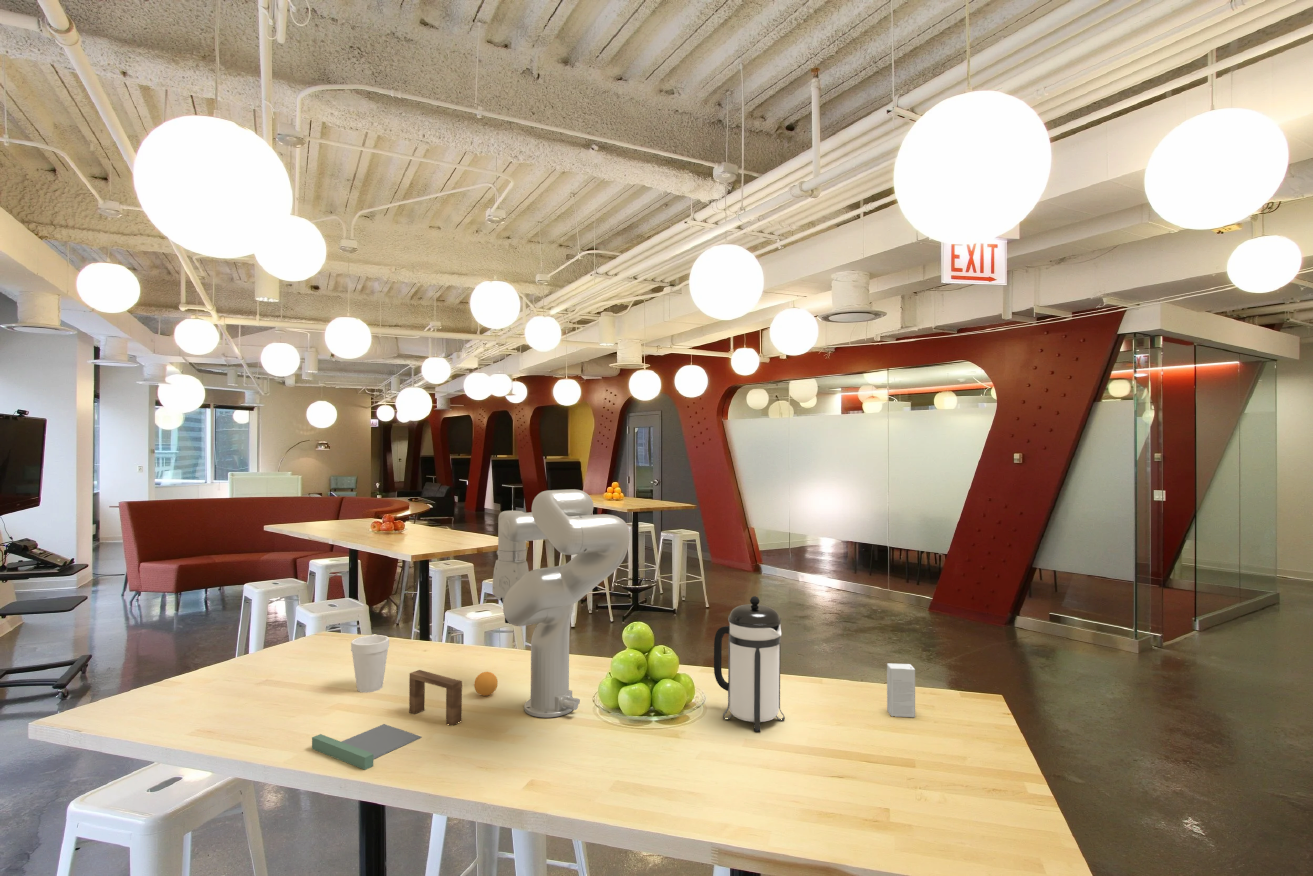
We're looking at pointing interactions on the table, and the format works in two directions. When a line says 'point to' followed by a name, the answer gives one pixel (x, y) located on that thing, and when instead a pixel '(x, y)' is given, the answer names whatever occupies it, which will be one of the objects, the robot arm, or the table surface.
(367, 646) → the foam cup
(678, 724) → the table surface
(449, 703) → the bridge
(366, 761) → the stopper wall
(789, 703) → the table surface
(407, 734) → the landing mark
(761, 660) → the coffee press
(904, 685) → the skincare box
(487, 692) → the ball
